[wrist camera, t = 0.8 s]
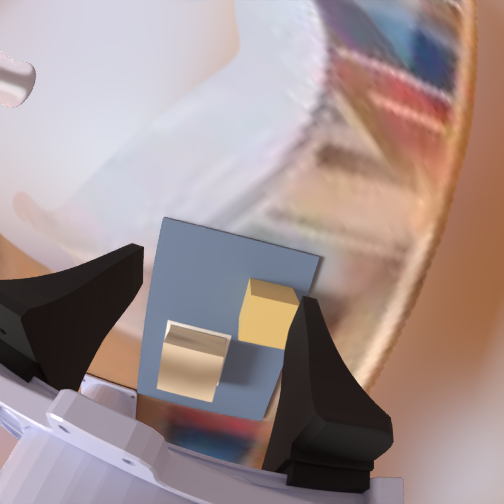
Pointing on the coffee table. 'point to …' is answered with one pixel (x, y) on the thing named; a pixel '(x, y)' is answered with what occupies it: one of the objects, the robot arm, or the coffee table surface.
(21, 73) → the beer glass
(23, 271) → the coffee table surface
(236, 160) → the coffee table surface
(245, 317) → the ochre block
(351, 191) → the coffee table surface
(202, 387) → the maple base block
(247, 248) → the board
